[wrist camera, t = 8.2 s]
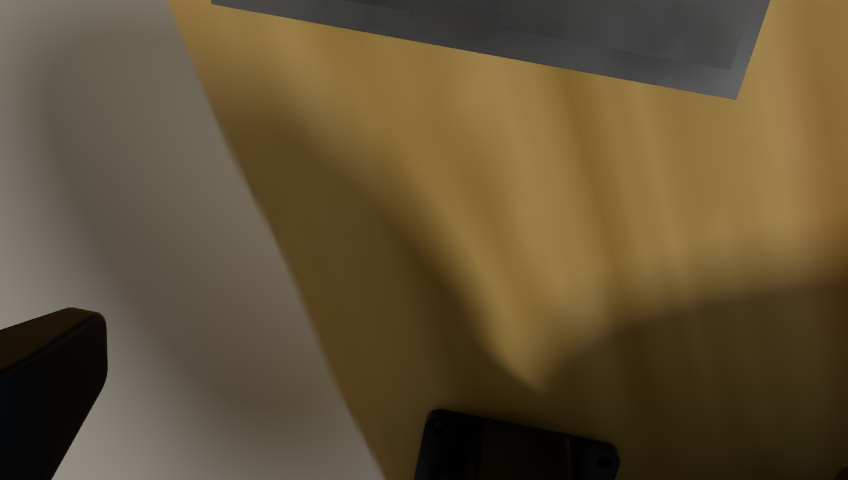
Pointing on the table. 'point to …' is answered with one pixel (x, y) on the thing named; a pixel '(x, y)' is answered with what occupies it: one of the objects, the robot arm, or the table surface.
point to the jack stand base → (565, 33)
